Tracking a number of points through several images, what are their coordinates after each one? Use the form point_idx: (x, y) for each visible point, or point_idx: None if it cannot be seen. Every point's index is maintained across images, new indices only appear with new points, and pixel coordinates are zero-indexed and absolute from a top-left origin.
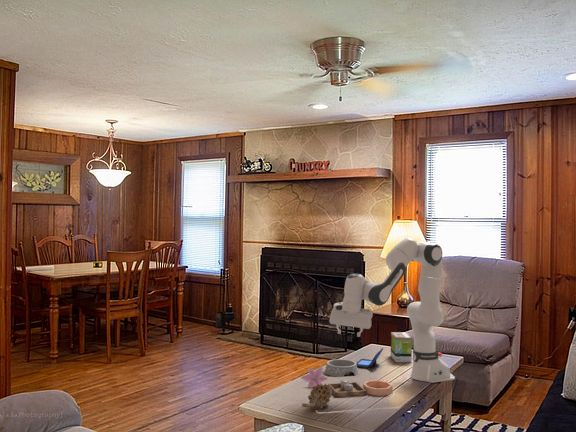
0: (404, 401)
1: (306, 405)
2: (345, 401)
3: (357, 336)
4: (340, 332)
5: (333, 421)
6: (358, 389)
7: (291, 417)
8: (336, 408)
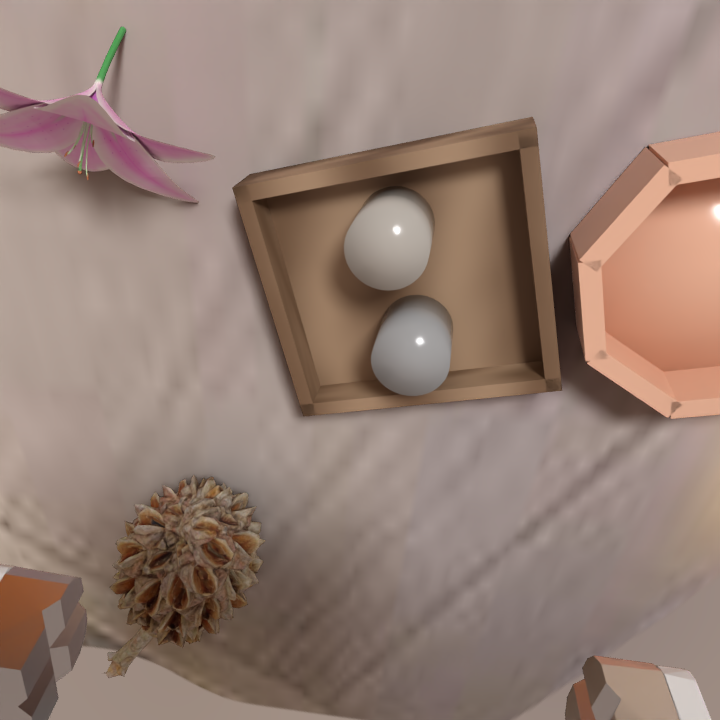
0: None
1: (131, 661)
2: (378, 440)
3: (581, 708)
4: (56, 659)
5: (292, 665)
6: (527, 231)
7: (90, 606)
8: (311, 536)
